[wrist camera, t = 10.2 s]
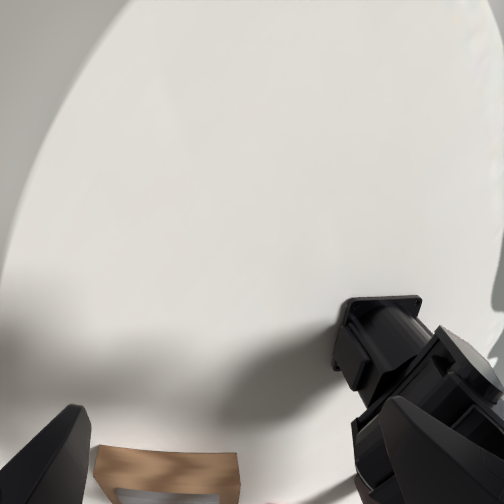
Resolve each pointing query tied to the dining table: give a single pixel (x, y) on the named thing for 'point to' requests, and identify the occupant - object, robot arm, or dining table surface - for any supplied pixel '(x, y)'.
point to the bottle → (364, 492)
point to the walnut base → (167, 477)
